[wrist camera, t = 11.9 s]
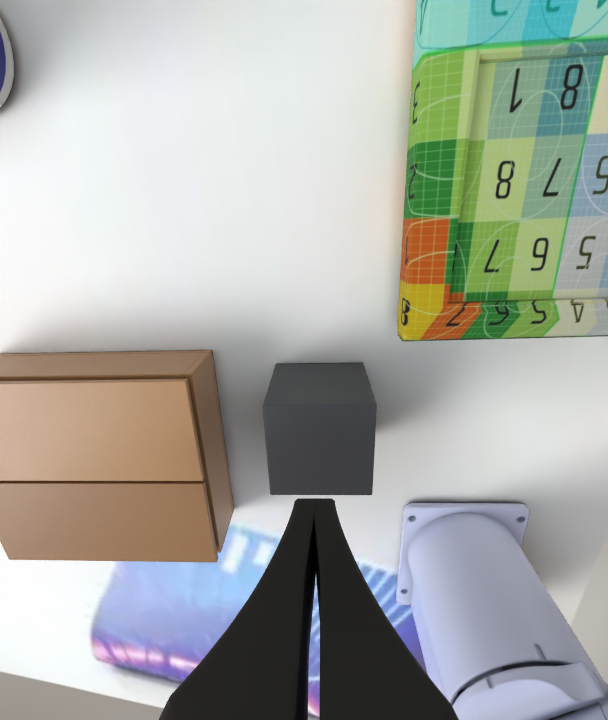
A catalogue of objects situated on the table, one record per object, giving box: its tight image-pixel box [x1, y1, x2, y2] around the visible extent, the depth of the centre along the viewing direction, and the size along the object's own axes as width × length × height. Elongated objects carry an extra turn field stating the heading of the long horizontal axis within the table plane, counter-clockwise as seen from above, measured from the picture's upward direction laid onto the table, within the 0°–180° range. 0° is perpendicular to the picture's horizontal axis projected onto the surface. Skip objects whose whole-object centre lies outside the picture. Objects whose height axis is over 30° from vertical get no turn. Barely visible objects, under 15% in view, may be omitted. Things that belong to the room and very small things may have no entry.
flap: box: [0, 480, 218, 562], centre depth 19 cm, size 6×13×1 cm, turn 92°
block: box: [263, 363, 377, 495], centre depth 18 cm, size 5×5×5 cm
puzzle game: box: [398, 0, 608, 341], centre depth 13 cm, size 12×5×20 cm
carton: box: [0, 350, 234, 553], centre depth 20 cm, size 12×13×4 cm
